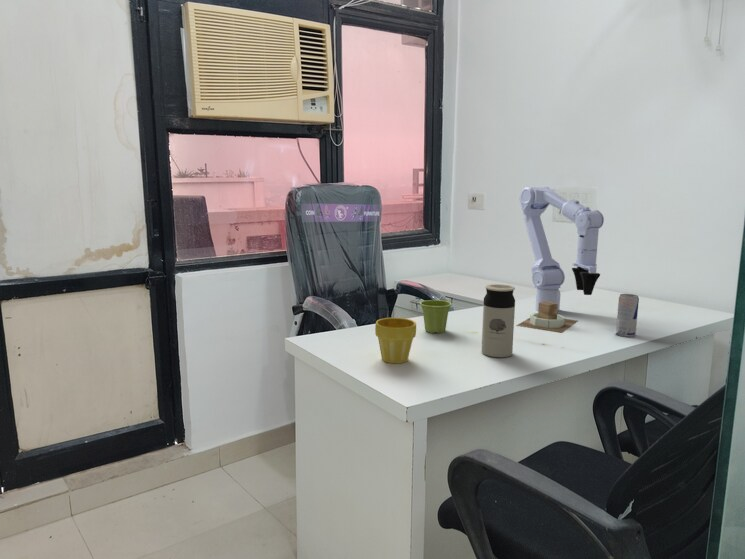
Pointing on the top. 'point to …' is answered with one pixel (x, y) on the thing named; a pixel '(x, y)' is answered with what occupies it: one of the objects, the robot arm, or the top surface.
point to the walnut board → (567, 324)
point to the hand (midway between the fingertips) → (584, 292)
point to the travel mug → (498, 320)
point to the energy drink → (627, 315)
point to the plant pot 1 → (395, 338)
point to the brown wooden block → (547, 310)
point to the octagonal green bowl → (547, 321)
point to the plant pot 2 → (435, 315)
